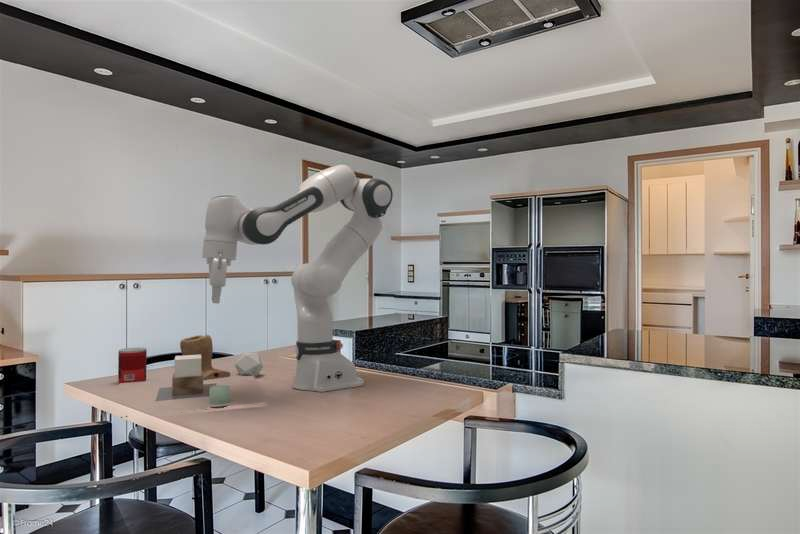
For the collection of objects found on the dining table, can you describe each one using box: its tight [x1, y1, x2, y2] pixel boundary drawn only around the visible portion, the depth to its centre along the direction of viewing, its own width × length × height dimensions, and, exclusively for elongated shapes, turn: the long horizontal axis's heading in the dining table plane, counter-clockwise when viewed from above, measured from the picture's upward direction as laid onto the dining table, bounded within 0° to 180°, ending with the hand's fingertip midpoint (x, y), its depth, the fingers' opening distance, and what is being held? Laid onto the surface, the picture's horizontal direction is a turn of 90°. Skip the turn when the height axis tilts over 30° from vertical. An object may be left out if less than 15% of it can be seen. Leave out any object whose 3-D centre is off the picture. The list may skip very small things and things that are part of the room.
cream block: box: [173, 355, 201, 378], centre depth 140 cm, size 7×7×5 cm
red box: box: [117, 346, 148, 385], centre depth 157 cm, size 8×8×11 cm
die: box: [234, 352, 264, 378], centre depth 166 cm, size 8×9×10 cm
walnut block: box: [171, 371, 204, 396], centre depth 140 cm, size 8×8×5 cm
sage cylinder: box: [209, 384, 230, 409], centre depth 130 cm, size 5×5×5 cm
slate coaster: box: [154, 382, 218, 402], centre depth 140 cm, size 16×16×1 cm
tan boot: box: [179, 334, 231, 381], centre depth 161 cm, size 15×12×15 cm
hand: (215, 302), depth 134 cm, fingers open, 8 cm apart
